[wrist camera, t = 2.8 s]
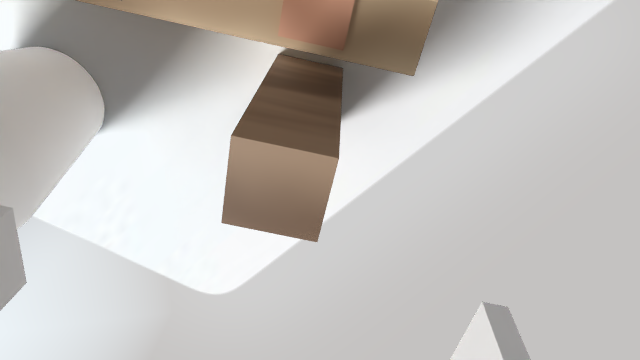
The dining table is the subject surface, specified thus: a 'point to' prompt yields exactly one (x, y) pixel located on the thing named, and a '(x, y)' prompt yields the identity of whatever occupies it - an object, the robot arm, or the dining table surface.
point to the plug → (286, 150)
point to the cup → (42, 123)
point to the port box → (308, 25)
